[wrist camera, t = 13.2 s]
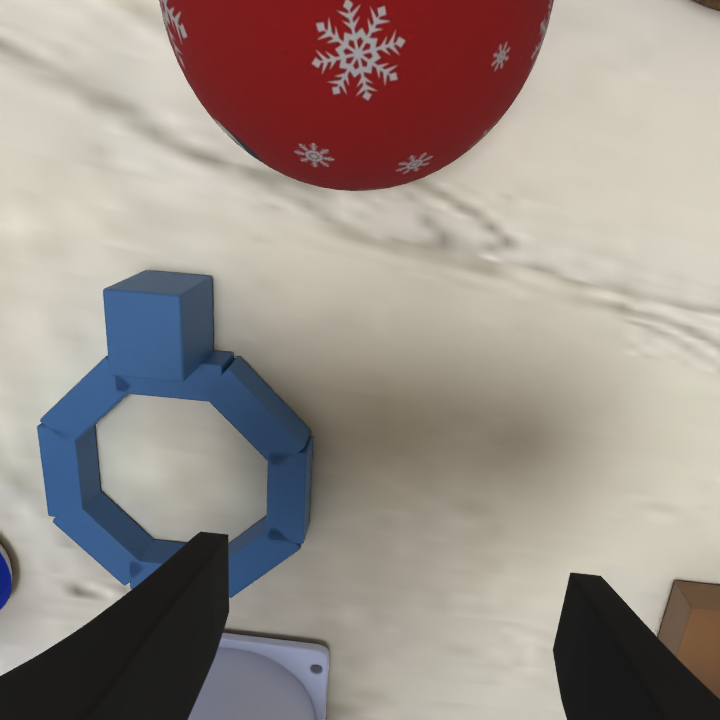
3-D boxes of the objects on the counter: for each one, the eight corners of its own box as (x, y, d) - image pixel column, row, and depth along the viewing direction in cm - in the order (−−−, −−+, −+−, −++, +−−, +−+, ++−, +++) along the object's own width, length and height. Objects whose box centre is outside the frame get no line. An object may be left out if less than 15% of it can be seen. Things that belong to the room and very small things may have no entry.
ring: (306, 584, 24) (292, 641, 21) (75, 557, 25) (32, 610, 22) (320, 284, 20) (304, 306, 17) (41, 260, 21) (-18, 278, 18)
